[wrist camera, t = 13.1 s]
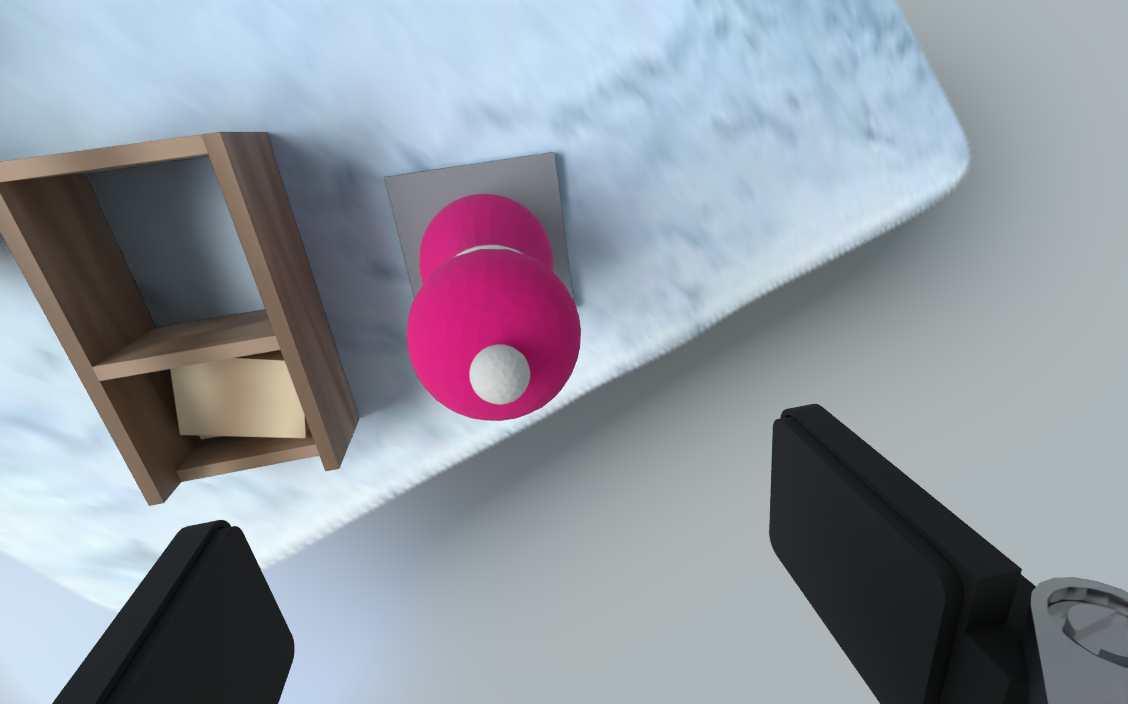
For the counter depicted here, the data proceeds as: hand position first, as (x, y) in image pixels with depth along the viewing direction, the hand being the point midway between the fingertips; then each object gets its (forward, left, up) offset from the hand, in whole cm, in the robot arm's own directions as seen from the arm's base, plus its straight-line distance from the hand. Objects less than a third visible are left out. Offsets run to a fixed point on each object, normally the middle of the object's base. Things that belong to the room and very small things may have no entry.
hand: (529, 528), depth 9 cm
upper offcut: (+16, +6, -25) cm, 31 cm away
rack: (+16, +1, -27) cm, 31 cm away
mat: (0, 0, -27) cm, 27 cm away
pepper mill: (0, 0, -26) cm, 26 cm away
